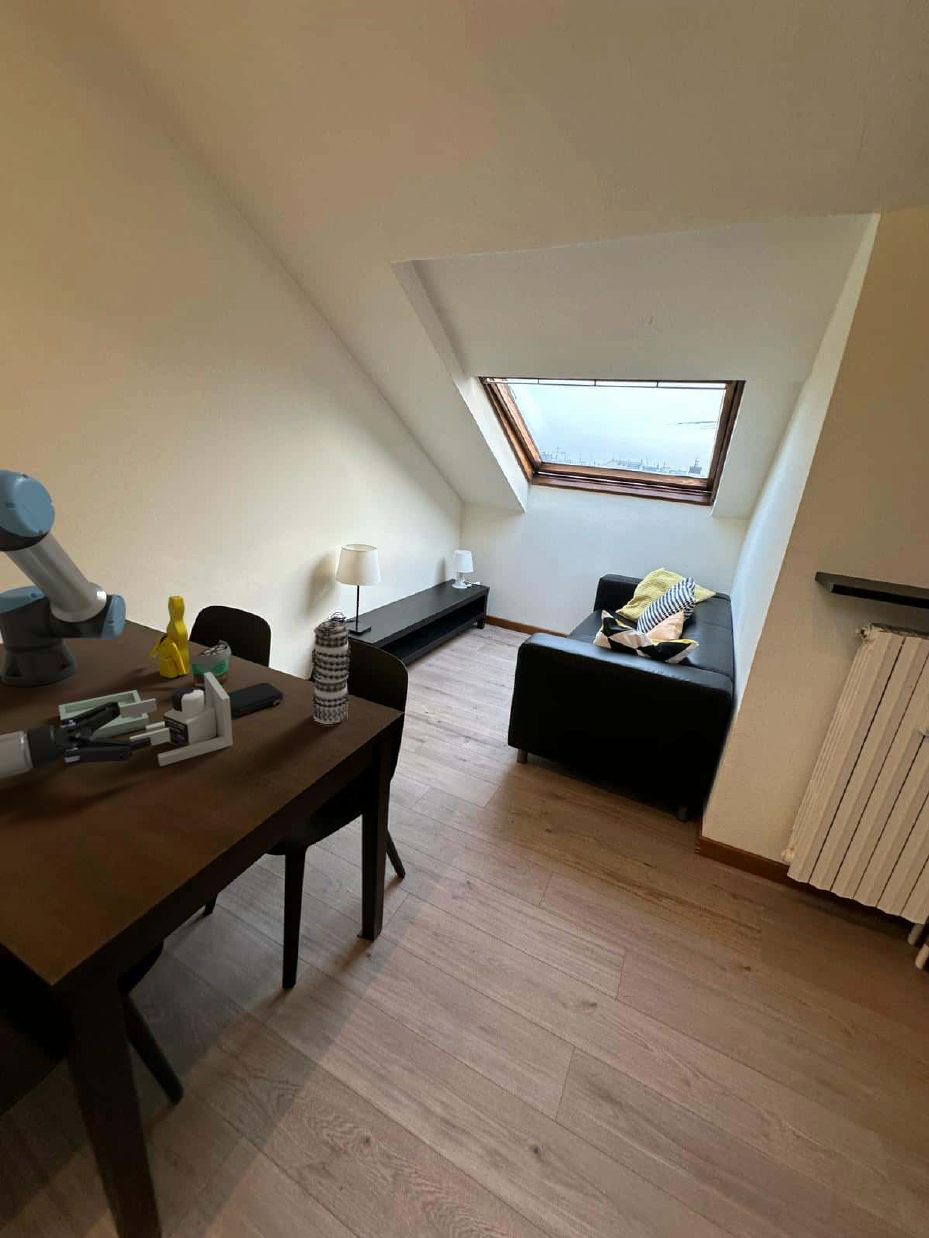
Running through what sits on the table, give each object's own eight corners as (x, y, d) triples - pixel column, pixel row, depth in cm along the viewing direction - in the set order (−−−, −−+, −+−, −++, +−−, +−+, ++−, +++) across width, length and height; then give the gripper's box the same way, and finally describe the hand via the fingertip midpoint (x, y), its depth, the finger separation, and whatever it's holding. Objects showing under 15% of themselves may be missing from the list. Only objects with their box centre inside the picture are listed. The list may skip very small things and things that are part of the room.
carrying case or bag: (233, 723, 117) (289, 703, 128) (233, 712, 116) (289, 693, 127) (213, 706, 123) (267, 688, 134) (212, 695, 122) (267, 678, 133)
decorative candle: (356, 718, 124) (359, 626, 115) (324, 730, 117) (325, 634, 109) (336, 703, 129) (338, 615, 121) (304, 714, 123) (304, 622, 115)
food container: (212, 695, 127) (209, 660, 124) (191, 690, 128) (188, 656, 125) (242, 675, 138) (240, 643, 135) (222, 671, 139) (220, 639, 136)
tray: (60, 714, 112) (58, 705, 111) (137, 698, 122) (136, 689, 121) (65, 747, 102) (63, 737, 101) (149, 726, 111) (148, 717, 110)
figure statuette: (143, 667, 137) (134, 593, 129) (172, 659, 143) (164, 587, 136) (178, 688, 128) (170, 610, 121) (207, 678, 134) (201, 603, 127)
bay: (146, 733, 109) (140, 685, 105) (214, 716, 118) (210, 671, 114) (160, 766, 99) (153, 715, 95) (232, 745, 108) (229, 697, 104)
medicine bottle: (166, 741, 107) (160, 693, 103) (194, 726, 113) (190, 680, 109) (189, 751, 104) (184, 702, 100) (217, 735, 111) (213, 689, 107)
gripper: (31, 734, 99) (152, 707, 113) (34, 806, 82) (177, 764, 95) (24, 702, 97) (149, 678, 110) (25, 769, 79) (174, 731, 93)
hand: (162, 718), depth 103 cm, fingers open, 13 cm apart
